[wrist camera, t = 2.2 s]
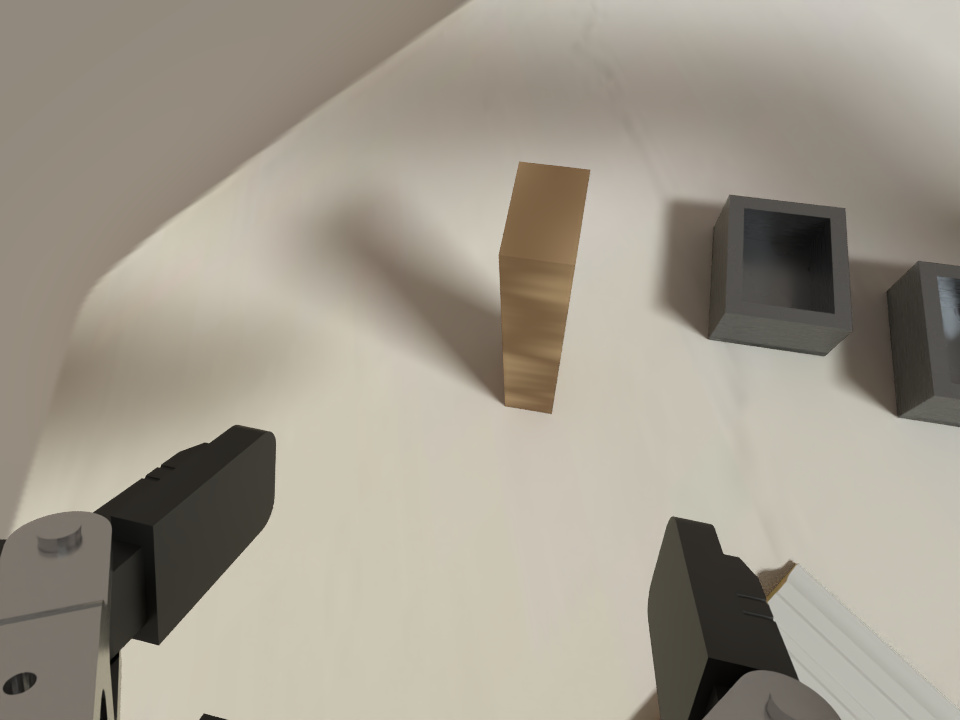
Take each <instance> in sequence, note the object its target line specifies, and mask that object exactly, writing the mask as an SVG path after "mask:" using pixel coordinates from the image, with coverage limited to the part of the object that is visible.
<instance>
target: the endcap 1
mask: <svg viewBox="0 0 960 720" xmlns="http://www.w3.org/2000/svg"><path fill="white" fill-rule="evenodd" d="M852 331H853V328H852V311H851V295H850V278H849V262H848V246H847V229H846V213H845V208H838V207H829V206H821V205H812V204H803V203H795V202H786V201H778V200H769V199H760V198H752V197H743V196H735V195H729V197H728V199H727V201H726V203H725V206H724V208H723V210H722V212H721V214H720V216H719V218H718V220H717V222H716V224H715V226H714V233H713V253H712V274H711V295H710V316H709V337H708V339H709V340H716V341H723V342H730V343H737V344H744V345H750V346H757V347H764V348H771V349H778V350H785V351H792V352H798V353H805V354H812V355H819V356H826V355H827V354H828V353H829V352H830V351H831V350H832V349H833V348H834V347H835V346H836V345H838V344H839V343H840V342H841V341H842V340H843V339H844V338H845V337H846V336H847V335H848V334H849V333H850V332H852Z"/></svg>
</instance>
